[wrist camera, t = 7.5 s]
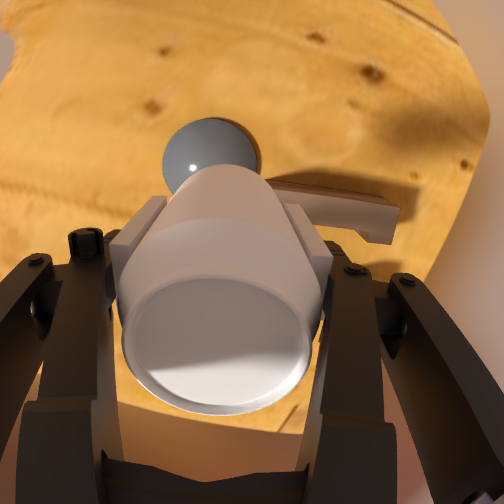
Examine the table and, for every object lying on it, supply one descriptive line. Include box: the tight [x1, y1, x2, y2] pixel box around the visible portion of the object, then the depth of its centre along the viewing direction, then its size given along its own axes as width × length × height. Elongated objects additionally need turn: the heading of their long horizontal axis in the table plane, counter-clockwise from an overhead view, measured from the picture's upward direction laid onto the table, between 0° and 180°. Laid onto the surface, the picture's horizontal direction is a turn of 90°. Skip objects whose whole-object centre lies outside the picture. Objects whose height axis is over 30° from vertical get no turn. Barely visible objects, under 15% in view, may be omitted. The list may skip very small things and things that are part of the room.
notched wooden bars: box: [265, 180, 400, 320], centre depth 35 cm, size 14×14×5 cm
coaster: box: [163, 119, 257, 195], centre depth 33 cm, size 10×10×1 cm
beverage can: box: [117, 164, 322, 416], centre depth 13 cm, size 6×6×12 cm
